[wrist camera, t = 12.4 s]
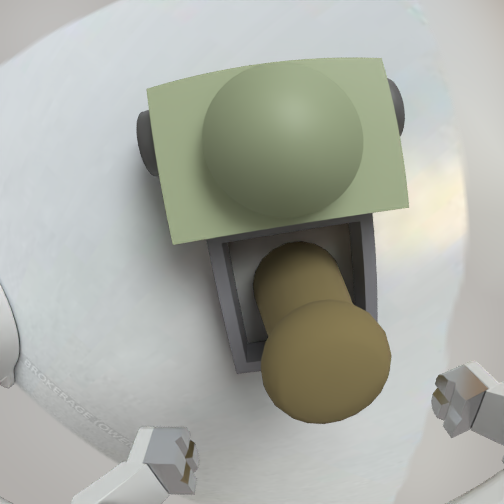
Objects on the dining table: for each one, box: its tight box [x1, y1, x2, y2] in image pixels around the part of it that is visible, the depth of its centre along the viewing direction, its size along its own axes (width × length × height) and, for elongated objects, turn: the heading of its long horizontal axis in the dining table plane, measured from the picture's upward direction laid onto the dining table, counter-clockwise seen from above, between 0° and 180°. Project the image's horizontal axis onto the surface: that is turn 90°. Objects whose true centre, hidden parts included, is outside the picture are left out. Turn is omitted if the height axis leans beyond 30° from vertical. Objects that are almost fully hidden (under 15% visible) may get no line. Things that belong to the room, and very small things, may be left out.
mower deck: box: [137, 58, 409, 374], centre depth 16 cm, size 14×18×6 cm
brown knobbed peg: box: [253, 241, 391, 424], centre depth 15 cm, size 6×6×11 cm
